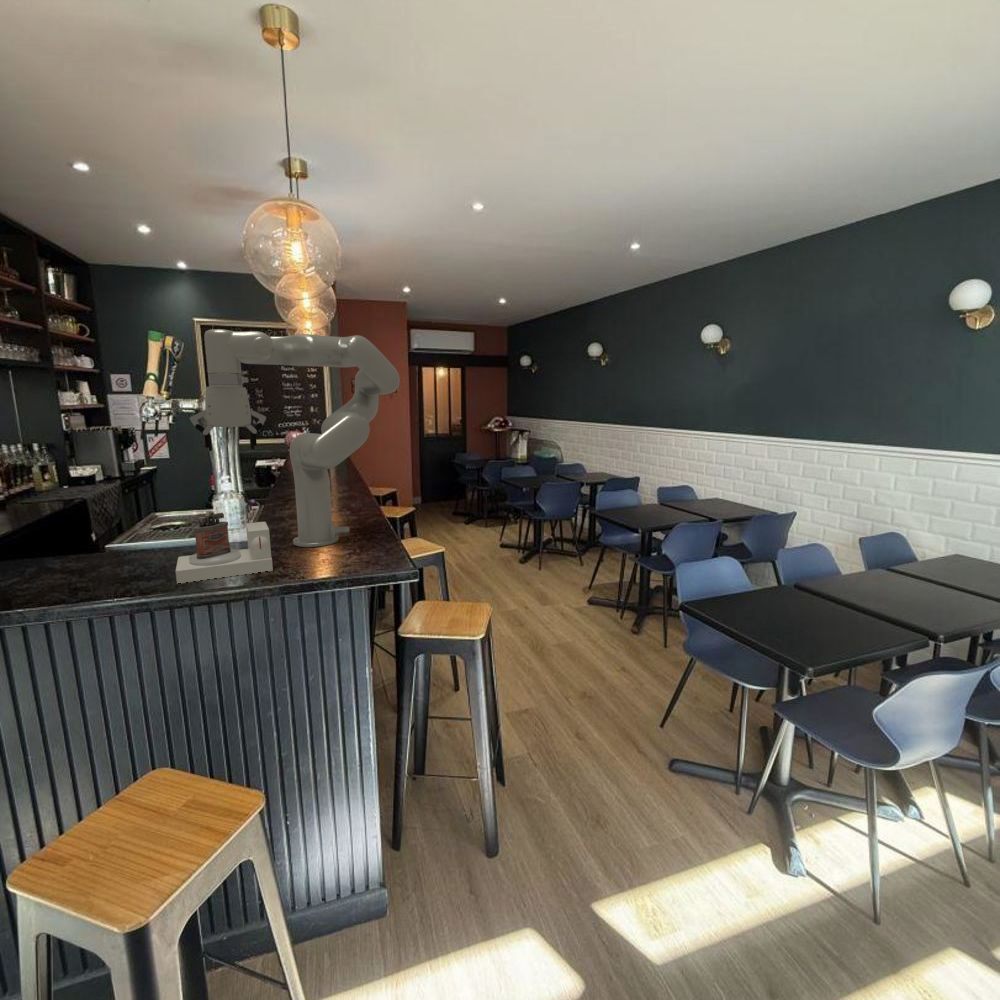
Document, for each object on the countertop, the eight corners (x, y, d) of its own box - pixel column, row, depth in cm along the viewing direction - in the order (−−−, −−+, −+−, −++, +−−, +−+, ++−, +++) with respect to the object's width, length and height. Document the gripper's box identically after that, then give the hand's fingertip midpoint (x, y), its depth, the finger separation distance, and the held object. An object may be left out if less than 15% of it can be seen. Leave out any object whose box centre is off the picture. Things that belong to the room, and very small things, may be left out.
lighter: (202, 560, 125) (197, 518, 123) (193, 558, 126) (189, 516, 124) (233, 551, 131) (230, 512, 130) (225, 550, 133) (221, 510, 131)
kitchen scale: (267, 557, 141) (264, 520, 139) (272, 570, 129) (269, 530, 128) (179, 568, 131) (175, 529, 130) (177, 584, 120) (172, 540, 118)
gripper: (261, 382, 141) (267, 447, 144) (186, 381, 133) (193, 450, 136) (264, 381, 134) (269, 449, 138) (185, 380, 126) (192, 452, 130)
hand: (231, 449), depth 137 cm, fingers open, 9 cm apart
